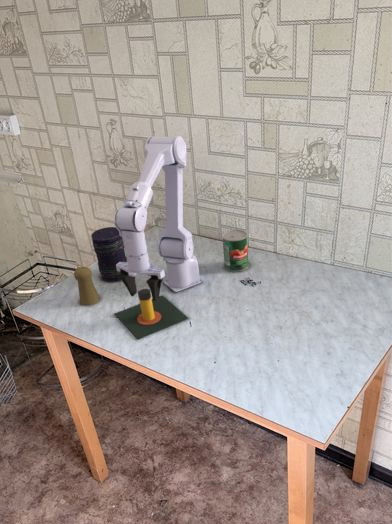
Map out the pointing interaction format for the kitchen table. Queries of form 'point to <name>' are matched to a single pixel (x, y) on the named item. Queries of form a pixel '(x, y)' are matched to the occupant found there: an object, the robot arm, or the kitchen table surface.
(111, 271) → the storage jar
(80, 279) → the olive pawn
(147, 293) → the glue stick
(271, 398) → the kitchen table surface
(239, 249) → the canned tomato
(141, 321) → the mat
